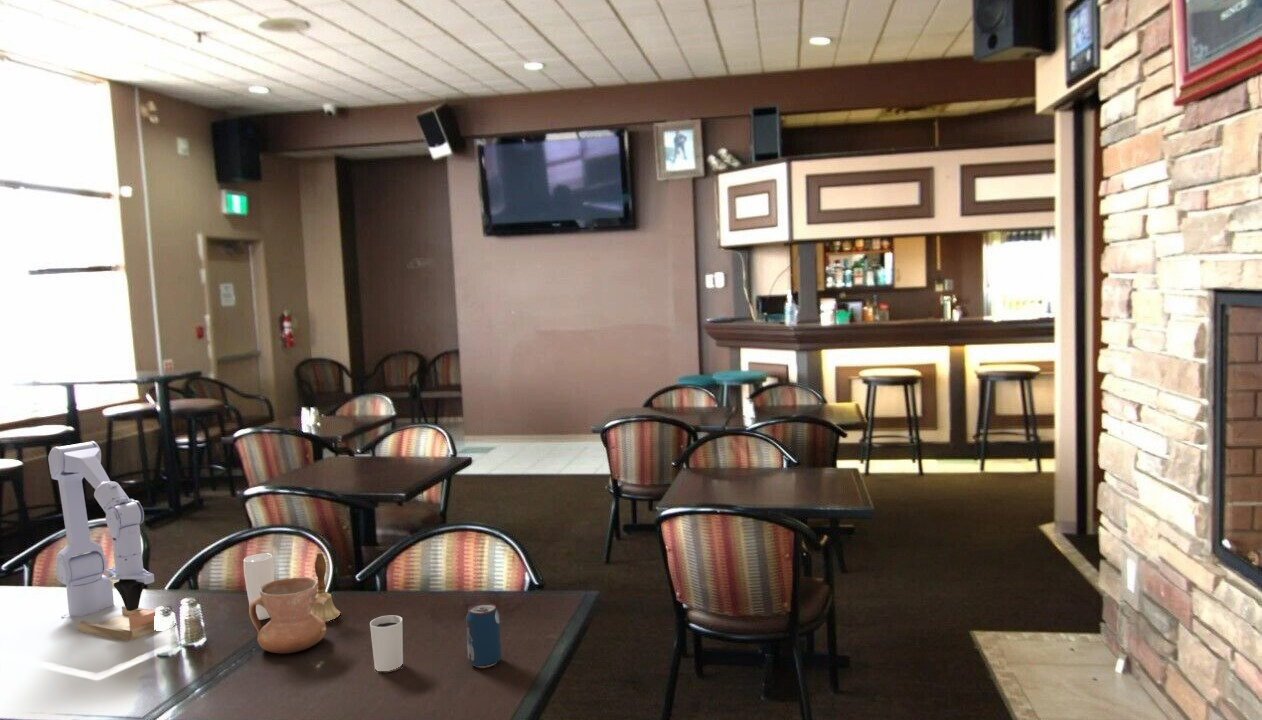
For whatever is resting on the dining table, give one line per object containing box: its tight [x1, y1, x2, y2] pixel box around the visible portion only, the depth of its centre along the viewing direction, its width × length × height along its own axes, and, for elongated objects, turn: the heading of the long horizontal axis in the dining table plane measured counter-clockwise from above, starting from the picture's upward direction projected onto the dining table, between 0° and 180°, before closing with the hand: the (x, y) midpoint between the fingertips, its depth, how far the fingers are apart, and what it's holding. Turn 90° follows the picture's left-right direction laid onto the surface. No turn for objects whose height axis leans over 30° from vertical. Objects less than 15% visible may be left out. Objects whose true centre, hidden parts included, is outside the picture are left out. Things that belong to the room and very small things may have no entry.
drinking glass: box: [243, 553, 275, 621], centre depth 217 cm, size 7×7×15 cm
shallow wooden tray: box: [77, 605, 155, 642], centre depth 211 cm, size 12×18×3 cm, turn 65°
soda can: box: [465, 602, 502, 666], centre depth 185 cm, size 7×7×12 cm
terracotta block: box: [129, 609, 156, 630], centre depth 208 cm, size 4×4×4 cm
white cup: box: [369, 614, 404, 671], centre depth 185 cm, size 7×7×10 cm
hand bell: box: [310, 552, 341, 623], centre depth 215 cm, size 8×8×16 cm
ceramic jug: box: [248, 576, 327, 654], centre depth 198 cm, size 18×14×14 cm
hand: (132, 609), depth 209 cm, fingers closed
